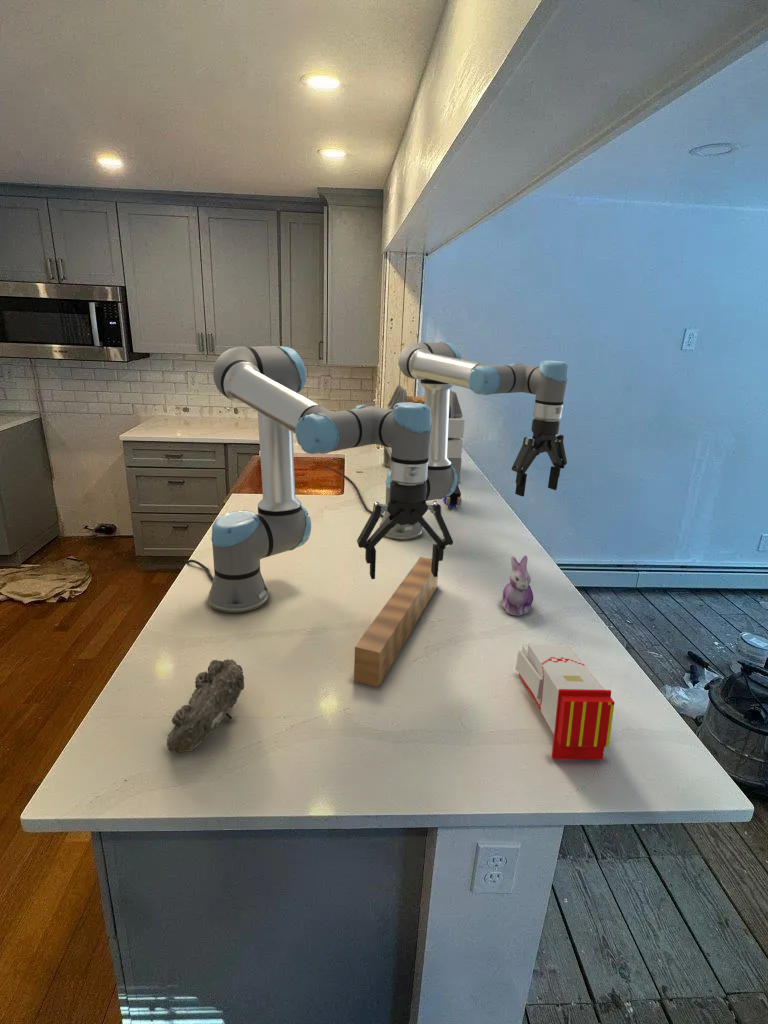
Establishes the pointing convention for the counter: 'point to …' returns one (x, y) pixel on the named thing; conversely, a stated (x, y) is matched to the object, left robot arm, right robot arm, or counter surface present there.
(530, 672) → the toy
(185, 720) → the fossil
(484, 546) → the counter surface
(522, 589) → the figurine
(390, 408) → the firewood crate
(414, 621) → the beam
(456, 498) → the figurine character
